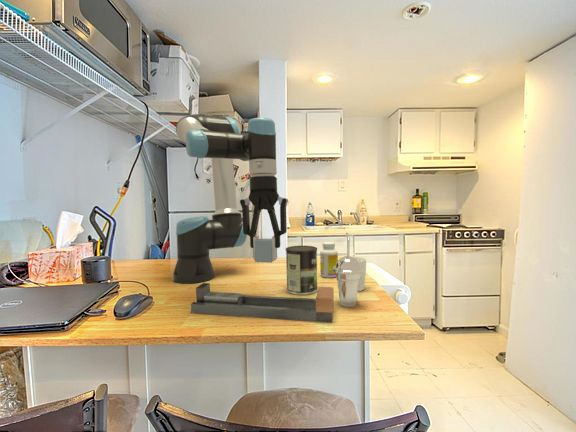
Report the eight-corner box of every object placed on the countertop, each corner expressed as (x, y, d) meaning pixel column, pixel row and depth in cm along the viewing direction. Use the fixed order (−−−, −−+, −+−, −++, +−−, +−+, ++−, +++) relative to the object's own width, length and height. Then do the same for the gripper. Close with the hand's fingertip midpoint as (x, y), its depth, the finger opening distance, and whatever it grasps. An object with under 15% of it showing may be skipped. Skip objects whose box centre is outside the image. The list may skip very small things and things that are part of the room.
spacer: (255, 262, 82) (254, 240, 81) (260, 259, 86) (259, 238, 86) (271, 262, 81) (270, 240, 80) (275, 259, 85) (274, 238, 85)
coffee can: (318, 285, 103) (318, 245, 101) (315, 296, 92) (315, 251, 91) (289, 284, 105) (289, 244, 103) (283, 294, 95) (282, 250, 93)
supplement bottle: (340, 275, 116) (340, 242, 115) (333, 279, 110) (333, 245, 109) (324, 272, 119) (324, 241, 118) (317, 276, 114) (317, 243, 113)
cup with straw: (327, 305, 85) (327, 235, 83) (341, 296, 92) (340, 232, 90) (356, 311, 80) (356, 238, 78) (367, 301, 87) (368, 233, 86)
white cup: (361, 293, 94) (361, 262, 93) (338, 289, 98) (338, 260, 97) (369, 287, 100) (369, 257, 100) (347, 283, 105) (347, 255, 104)
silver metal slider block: (196, 308, 83) (195, 287, 82) (204, 303, 87) (203, 283, 87) (237, 311, 80) (236, 289, 80) (243, 305, 85) (242, 284, 84)
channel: (190, 313, 81) (190, 291, 80) (206, 301, 89) (205, 281, 89) (332, 322, 73) (332, 298, 73) (333, 308, 82) (333, 287, 82)
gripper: (227, 176, 80) (231, 261, 82) (291, 173, 77) (294, 262, 78) (238, 178, 88) (240, 256, 89) (296, 175, 84) (298, 257, 86)
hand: (265, 259), depth 84 cm, fingers closed on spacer, 5 cm apart
